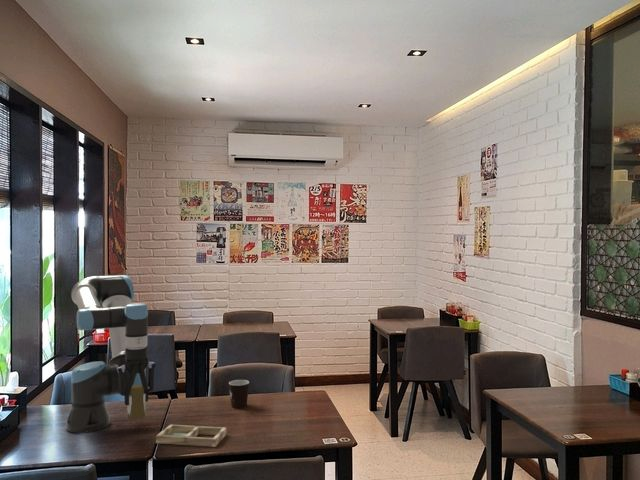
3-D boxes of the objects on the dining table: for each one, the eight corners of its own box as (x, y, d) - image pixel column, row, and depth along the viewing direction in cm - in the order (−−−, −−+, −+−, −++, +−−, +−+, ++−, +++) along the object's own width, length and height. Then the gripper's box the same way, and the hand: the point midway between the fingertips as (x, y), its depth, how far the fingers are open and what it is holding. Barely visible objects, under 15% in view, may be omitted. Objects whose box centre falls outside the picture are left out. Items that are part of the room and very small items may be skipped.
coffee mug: (247, 409, 215) (247, 385, 215) (227, 409, 215) (226, 385, 215) (251, 400, 227) (251, 377, 227) (232, 400, 227) (232, 377, 227)
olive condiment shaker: (135, 420, 181) (135, 389, 181) (123, 417, 184) (123, 386, 184) (149, 415, 186) (149, 385, 186) (137, 412, 189) (138, 382, 189)
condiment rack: (215, 446, 176) (215, 439, 176) (155, 443, 180) (155, 435, 180) (226, 434, 187) (226, 427, 187) (170, 431, 191) (170, 424, 191)
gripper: (114, 352, 177) (114, 420, 177) (163, 346, 187) (163, 410, 187) (108, 348, 183) (108, 414, 183) (156, 342, 193) (156, 404, 193)
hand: (136, 412), depth 185 cm, fingers closed on olive condiment shaker, 4 cm apart
